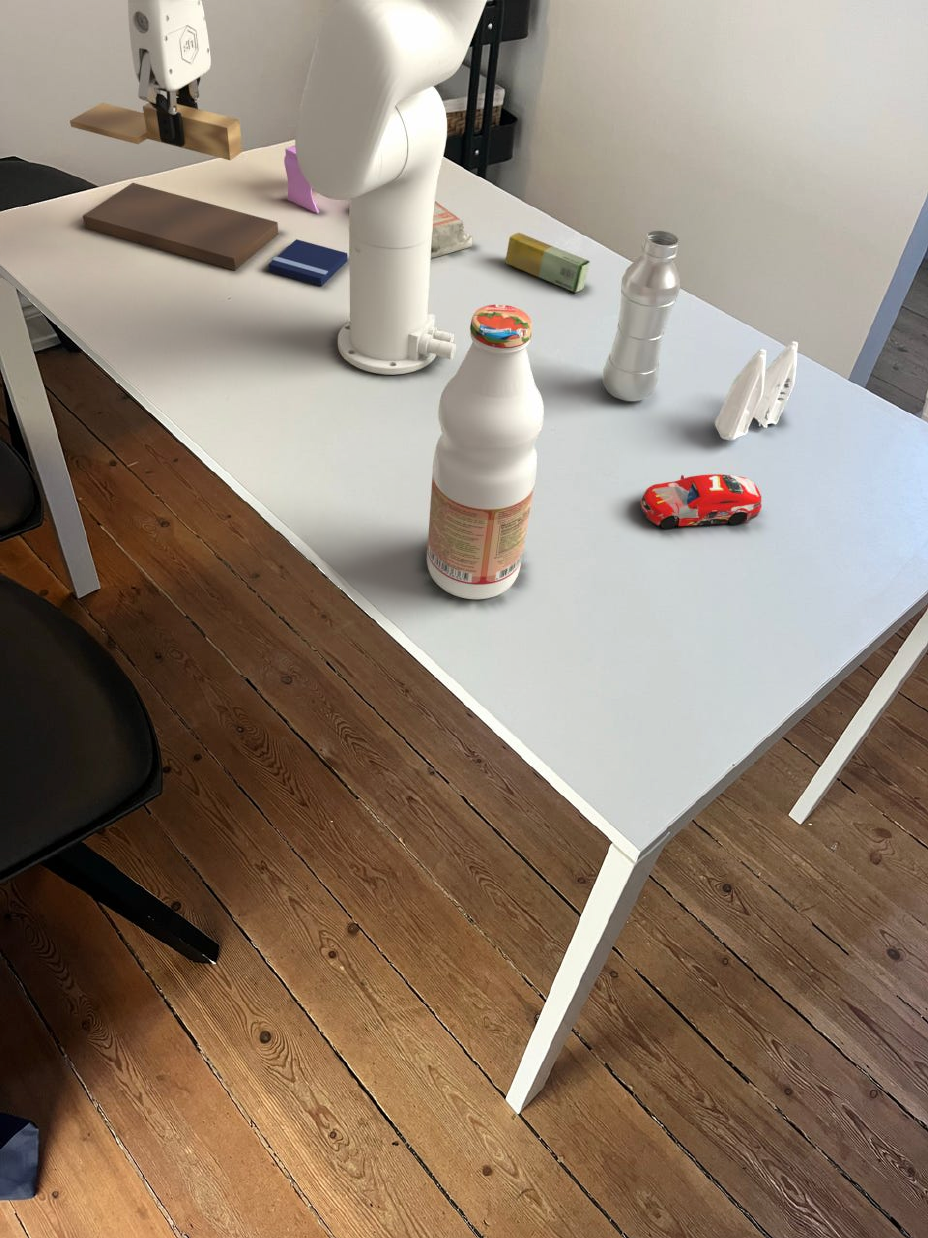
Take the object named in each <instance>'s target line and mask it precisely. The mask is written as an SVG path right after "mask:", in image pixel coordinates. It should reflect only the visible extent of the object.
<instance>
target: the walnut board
mask: <svg viewBox="0 0 928 1238" xmlns="http://www.w3.org/2000/svg"><path fill="white" fill-rule="evenodd" d="M82 219H83V225H84V228H85V229H88V230H92V231H95V232H98V233H102V234H106V235H109V236H113V237H116V238H119V239H123V240H126V241H130V242H133V243H137V244H140V245H145V246H148V247H151V248H154V249H158V250H162V251H165V252H168V253H172V254H175V255H178V256H182V257H185V258H190V259H192V260H195V261H200V262H203V263H206V264H211V265H214V266H217V267H221V268H223V269H228V270H231V271H235V272H236V271H237V270H238V269H240V267H241V266H243V265H244V264H245V263H247V261H249V260H250V259H251V258H252V257H253V256H254V255H256V254H257V253H258V252H259V251H261V249H263V248H264V247H265V246H266V245H268V243H270V242H271V241H272V240H273V239H275V237H277V236H278V235H279V225H278V221H274V220H271V219H268V218H264V217H260V216H257V215H253V214H249V213H245V212H242V211H238V210H234V209H231V208H228V207H224V206H220V205H216V204H213V203H209V202H205V201H201V200H198V199H194V198H190V197H187V196H183V195H180V194H176V193H172V192H169V191H165V190H161V189H158V188H154V187H150V186H147V185H143V184H141V183H140V184H139V183H136V182H131V183H130V184H128V185H127V186H125V187H124V188H122V189H120V190H119V191H118V192H116V193H114V194H113V195H111V196H110V197H108V198H107V199H106V200H104V201H103V202H101V203H99V204H98V205H96V206H95V207H93V208H92V209H90V210H89V211H87V212H86V213H84V214H83V215H82Z"/></svg>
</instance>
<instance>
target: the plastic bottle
mask: <svg viewBox="0 0 928 1238" xmlns="http://www.w3.org/2000/svg"><path fill="white" fill-rule="evenodd" d="M679 244H680V239H679V237H678V236H677V235H676V234H674V233H672V232H669V231H666V230H659V229H656V230H649V231H648V232H647V233H646V234H645V235H644V240H643V244H642V245H641V248H640V253H641V255H640V256H639V257H638V258H637V259H635V260H634V261H633V262H632V263H631V264H630V265H629V266H627V268H626V270H625V272H624V274H623V276H622V278H621V285H620V286H621V287H620V288H621V290H620V307H619V315H618V323H617V329H616V333H615V336H614V339H613V342H612V345H611V349H610V352H609V354H608V356H607V359H606V360H605V364H604V367H603V371H602V382H603V386H604V388H605V390H606V391H607V393H609V395H610V396H612V397H614V398H615V399H618V400H621V401H624V402H638V401H643V400H645V399H646V398H648V397H649V396H650V395H651V394H653V392H654V390H655V388H656V385H657V383H658V381H659V374H660V373H659V372H660V357H661V349H662V342H663V337H664V336H665V335H664V334H665V330H666V328H667V324H668V321H669V318H670V315H671V313H672V312H673V311H672V310H673V309H674V306H675V303H676V301H677V298H678V296H679V293H680V290H681V278H680V275H679V272H678V269H677V266H676V265H675V263H674V260H676V258H677V255H678V247H679Z"/></svg>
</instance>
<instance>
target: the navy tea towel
mask: <svg viewBox="0 0 928 1238" xmlns="http://www.w3.org/2000/svg"><path fill="white" fill-rule="evenodd" d="M346 263H348V253H347V252H344V251H340V250H337V249H335V248H330V247H326V246H323V245H319V244H315V243H311V242H308V241H306V240H301V239H294V240H293V242H291V243H289V244H288V245H287V246H286V248H284V249H283V250H282V251H281V252H280V253H279V254H278V255H276V256H274V257H273V258H272V259H271V261H270V262H268V266H267V267H268V272H269V273H272V274H276V275H279V276H283V277H286V278H288V279H292V280H297V281H299V282H303V283H306V284H310V285H313V286H317V287H323V286H324V285H325V284H326V283H327V282H328V281H329V280H330V279H331V278H332V277H333V276H334V275H335V274H336V273H337V272H338V271H339V270H340V269H341V268H342V267H343V266H344V265H345V264H346Z"/></svg>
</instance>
